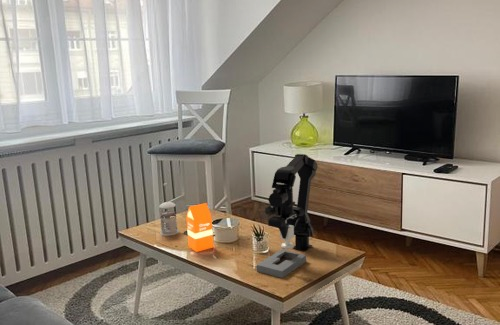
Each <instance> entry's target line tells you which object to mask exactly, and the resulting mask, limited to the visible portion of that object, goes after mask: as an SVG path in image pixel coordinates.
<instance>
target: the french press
mask: <svg viewBox="0 0 500 325" xmlns="http://www.w3.org/2000/svg"><path fill="white" fill-rule="evenodd" d="M163 187H165V188H167V187H168V183H167V182H166V183H165V182H164V183H163ZM165 195H166V196H165V197H166V200H168V196H167V192H165ZM176 205H177V204H176V203H174V202H172V201H165V202H163V203H160V205H159V206H158V207H159V210H158V213H159V214H158V215H159V218H160V228H161V231H160V232H159V234H160V235H161V236H166V237H169V236H175V235H177V234H179V233H180V230H179V229H178V222H177V214H176V212H175V211H173V210H169V209H172V208H175V207H176ZM160 210H161V211H160ZM164 210H165V211H164ZM160 212H161V213H160Z"/></svg>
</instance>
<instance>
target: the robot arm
mask: <svg viewBox="0 0 500 325" xmlns="http://www.w3.org/2000/svg"><path fill="white" fill-rule="evenodd" d="M317 170H318V163H317V161H316V160H315V159H314V158H312V157H309V155H307V154H305V153H303V154H302V153H297V154H295V155H294V157H293V158H292V160H291V161H290V162H289V163H288V164H287V165H285V166H281V167H279V168H277V169H276V171H275V173H274V176H273V179H272V180H273V181H272V184H271V189H272V193H270V195H269V196H268V203H269V205H267V206H266V207H264V213H265V215H266V216H268V217H270V216H272V217H270V218H269V219H267V226H269V227H273V228H278V230H279V233H280V232H281V235H282V237H283V239H282V240H284V239H285V238H286V235H287V231H288V227H289V225H293V226H294V239H295V240H294V241H295V242H294V244H295V245H294V248H293V249H295V250H298V251H302V252H306V251H308V250H310V249H311V248H312V247H313V245H312V244H310V237H312V236H314V227H313V226H312V224H311V219H310V217H309V214H308V208H309V199H310V191H311V183H312V180H313V179H314V177H315V176H316V173H317ZM296 175H298V176H299V186H298V195H297V203H296V201H294V193H293V192H294V191H293V187H294V185H295V182H296ZM296 204H297V205H296ZM295 205H296V206H295ZM274 215H275V216H274ZM293 249H292V250H293Z"/></svg>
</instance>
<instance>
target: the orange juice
mask: <svg viewBox="0 0 500 325" xmlns="http://www.w3.org/2000/svg"><path fill="white" fill-rule="evenodd" d="M186 228H187V230H186V231H188V235H187V238H188V239H187V240H188V242H187V243H188V248H190V249H192V250H193V251H194V252H196V253H197V252H200V251H201V252H202V251H204V250H209V249H212V248H214V236H213V233H214V232H213V220H212V213H211V212H210V209H209V206H208V203H207V202H203V203H201V204H195V205H191V206H189V207H188V211H187V214H186Z"/></svg>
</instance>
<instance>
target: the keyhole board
mask: <svg viewBox="0 0 500 325" xmlns="http://www.w3.org/2000/svg"><path fill="white" fill-rule="evenodd" d="M281 258H286V259H285V260H283V261H282V262H280V261H281ZM278 262H280V263H279V264H277V263H278ZM306 262H307V255H306V254H303V253H298V252H294V251H291V250H286V249H280V250H279V251H278V250H277V252H274V253H273V254H272V255H270V256H269V257H267V258H265V259H264V260H262V261H261V262H259V263H257V264H256V272H258V273H262V274H267V275H269V276H273V277H276V278H280V279H283V278H284V277H286V276H288V275H289V274H290V273H292V272H293V271H295V270H296V269H297V268H299V267H301V266H302V265H304V263H306Z"/></svg>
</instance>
